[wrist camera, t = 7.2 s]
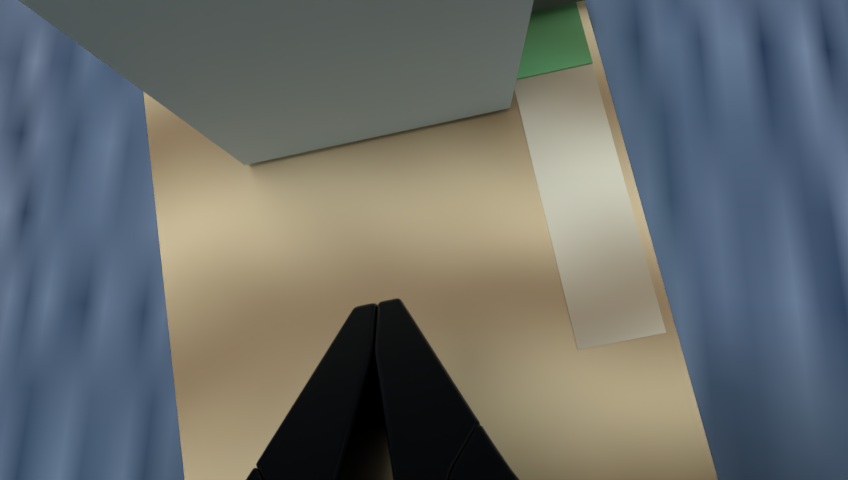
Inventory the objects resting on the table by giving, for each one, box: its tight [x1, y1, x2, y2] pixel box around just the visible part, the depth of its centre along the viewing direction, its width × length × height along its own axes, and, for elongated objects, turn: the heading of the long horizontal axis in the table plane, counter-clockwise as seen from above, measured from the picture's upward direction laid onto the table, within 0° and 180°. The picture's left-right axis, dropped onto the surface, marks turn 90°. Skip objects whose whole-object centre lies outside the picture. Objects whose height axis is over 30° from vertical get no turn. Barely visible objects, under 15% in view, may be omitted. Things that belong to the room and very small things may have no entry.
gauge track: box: [143, 0, 718, 480], centre depth 16 cm, size 24×14×1 cm, turn 11°
